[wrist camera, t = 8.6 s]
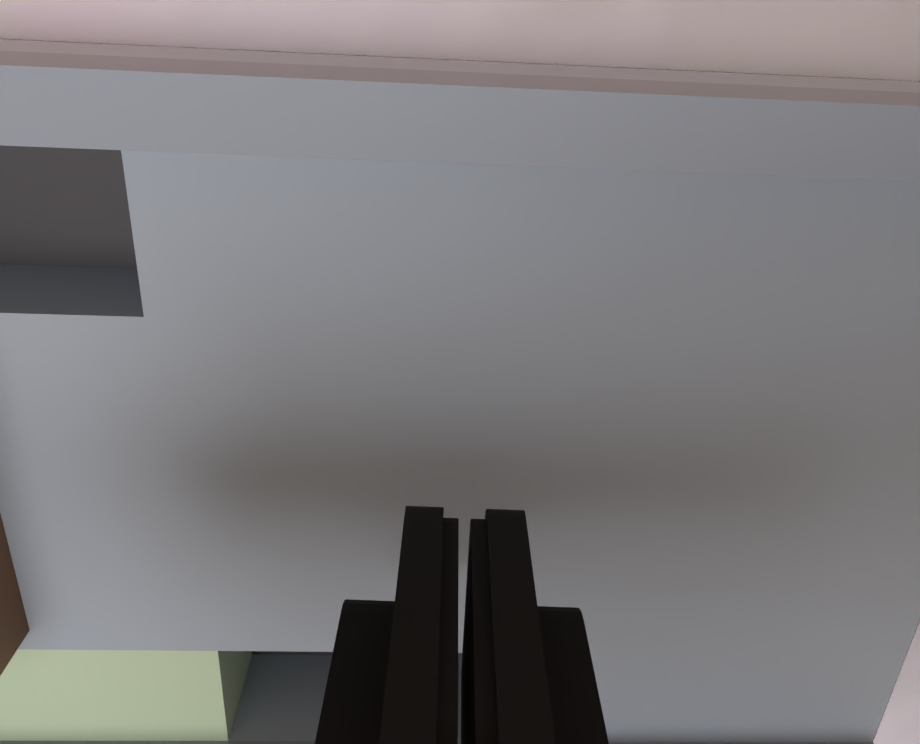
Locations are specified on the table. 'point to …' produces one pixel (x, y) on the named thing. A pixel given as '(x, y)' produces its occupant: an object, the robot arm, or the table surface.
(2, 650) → the block
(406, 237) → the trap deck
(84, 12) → the table surface
